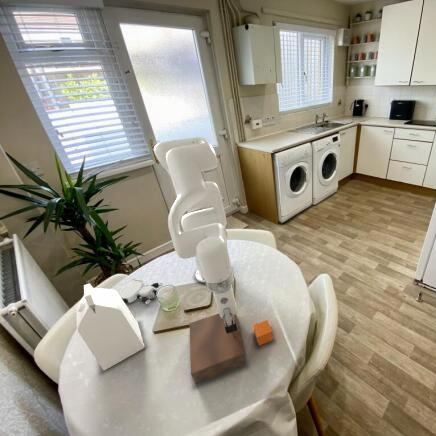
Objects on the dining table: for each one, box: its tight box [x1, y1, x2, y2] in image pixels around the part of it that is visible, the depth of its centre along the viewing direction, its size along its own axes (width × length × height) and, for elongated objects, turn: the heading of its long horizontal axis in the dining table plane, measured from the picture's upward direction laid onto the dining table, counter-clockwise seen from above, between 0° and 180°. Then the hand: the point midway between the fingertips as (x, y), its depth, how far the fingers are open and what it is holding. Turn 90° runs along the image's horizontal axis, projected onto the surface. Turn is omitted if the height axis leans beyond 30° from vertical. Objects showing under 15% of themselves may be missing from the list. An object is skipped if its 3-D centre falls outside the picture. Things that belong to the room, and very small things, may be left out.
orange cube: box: [252, 319, 274, 346], centre depth 80 cm, size 5×5×5 cm
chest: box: [191, 355, 246, 385], centre depth 78 cm, size 15×18×5 cm
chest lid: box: [189, 311, 246, 376], centre depth 75 cm, size 15×18×5 cm
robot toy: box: [118, 278, 163, 305], centre depth 99 cm, size 12×4×15 cm
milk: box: [75, 283, 145, 371], centre depth 75 cm, size 12×12×26 cm
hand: (229, 318), depth 75 cm, fingers open, 9 cm apart
